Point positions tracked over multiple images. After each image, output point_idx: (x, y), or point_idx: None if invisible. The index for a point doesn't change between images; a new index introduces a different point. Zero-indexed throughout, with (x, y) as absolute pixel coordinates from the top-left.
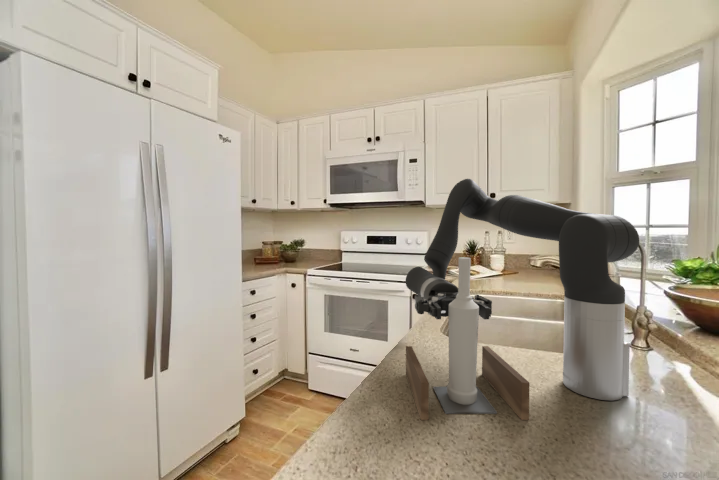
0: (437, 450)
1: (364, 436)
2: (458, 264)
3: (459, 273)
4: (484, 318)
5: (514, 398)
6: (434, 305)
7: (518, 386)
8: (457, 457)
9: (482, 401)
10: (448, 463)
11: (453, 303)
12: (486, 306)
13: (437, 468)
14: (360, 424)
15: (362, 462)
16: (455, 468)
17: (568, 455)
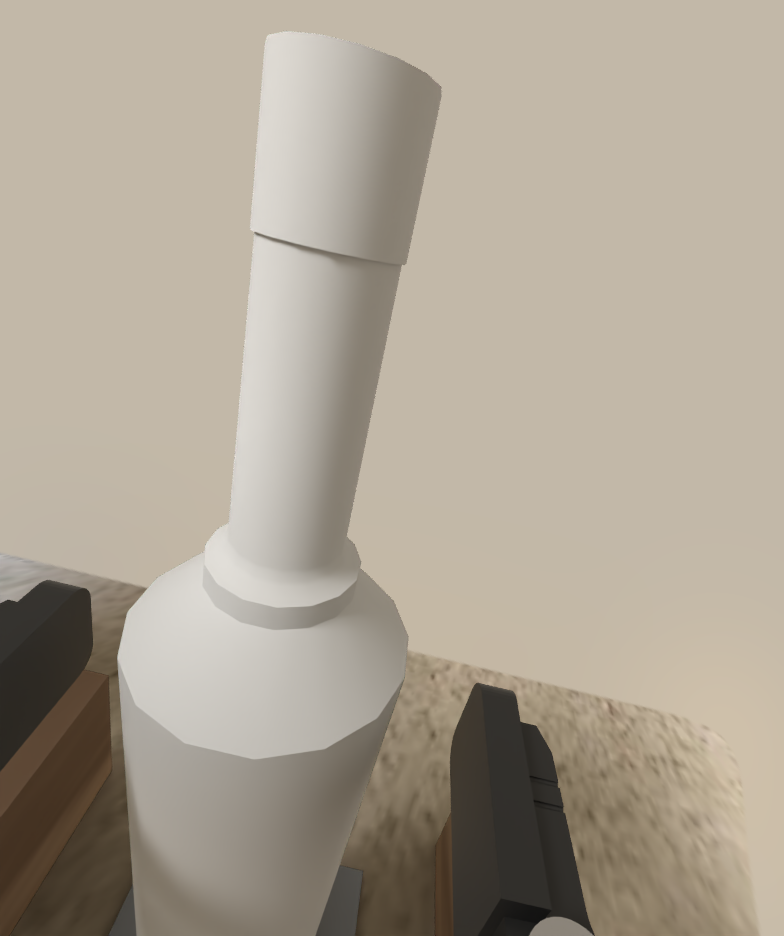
0: (441, 713)
1: (626, 806)
2: (416, 206)
3: (388, 326)
4: (79, 670)
5: (74, 791)
6: (528, 791)
7: (92, 718)
8: (404, 684)
9: None
10: (429, 676)
11: (384, 611)
12: (28, 603)
13: (454, 671)
14: (658, 872)
15: (603, 720)
16: (419, 663)
17: None
